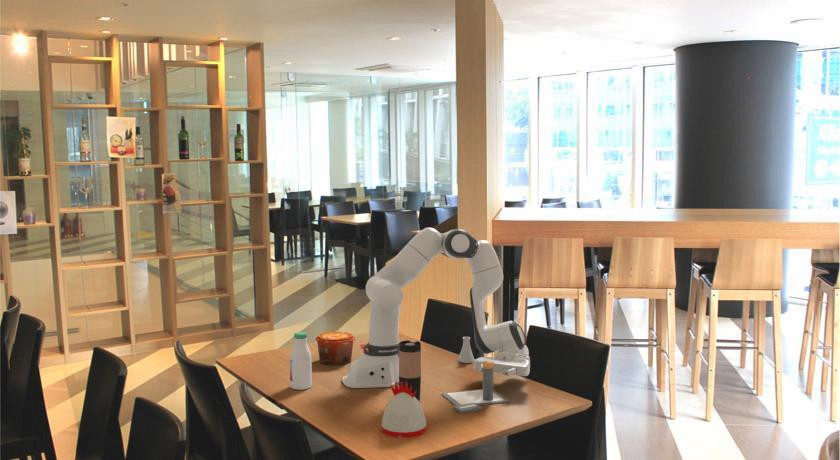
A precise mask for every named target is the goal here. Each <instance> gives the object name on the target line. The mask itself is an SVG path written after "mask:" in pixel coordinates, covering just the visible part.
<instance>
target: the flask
mask: <svg viewBox="0 0 840 460" xmlns="http://www.w3.org/2000/svg"><path fill="white" fill-rule="evenodd" d="M462 340H463V342H462V347H461V351H460V353H459V355H458V358H457V361H458V363H462V364H473V363H474V360H475V358H474V355H473V351H472V348H471V343H470V342H471V337H470V336H463V337H462Z"/></svg>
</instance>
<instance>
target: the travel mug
mask: <svg viewBox="0 0 840 460" xmlns="http://www.w3.org/2000/svg"><path fill="white" fill-rule="evenodd" d="M421 349H422V343H421V341H419V340H416V341H412V340H401V341H400V342H399V383H398V387H399V389H400V385H401V382H403V388H405V384H406V382H407V384H408V389H410V387H411V386H412V390H411V393H412V394H413V393H414V392H415V391H416V390H417V391H416V394H415V396H414V397H415V398H416V399H417V400H418V401H420V400H421V385H422V382H421V381H422V350H421Z"/></svg>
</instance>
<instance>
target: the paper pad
mask: <svg viewBox="0 0 840 460" xmlns="http://www.w3.org/2000/svg"><path fill="white" fill-rule="evenodd" d="M441 396H443V397H444V398H445V399H447V401H449V402H450V403H451V404H452V405H453V406H458V405H463V404H469V403H475V404H477V405H479V406H488V405H496V404H504V403H510V400H509V399H507V398H506V397H504V396H503V395H502V394H500V393H498V391H496V390H494V389H493V400H491V401H486V400H483V388H482V389H481V388H480V389H473V390H462V391H461V390H460V391H453V392H444V393H443V392H442V393H441Z"/></svg>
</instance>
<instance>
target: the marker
mask: <svg viewBox="0 0 840 460" xmlns="http://www.w3.org/2000/svg"><path fill="white" fill-rule="evenodd" d="M482 389H483V400H486V401H491V400H493V390H494V362H493V361H483V372H482Z"/></svg>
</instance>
